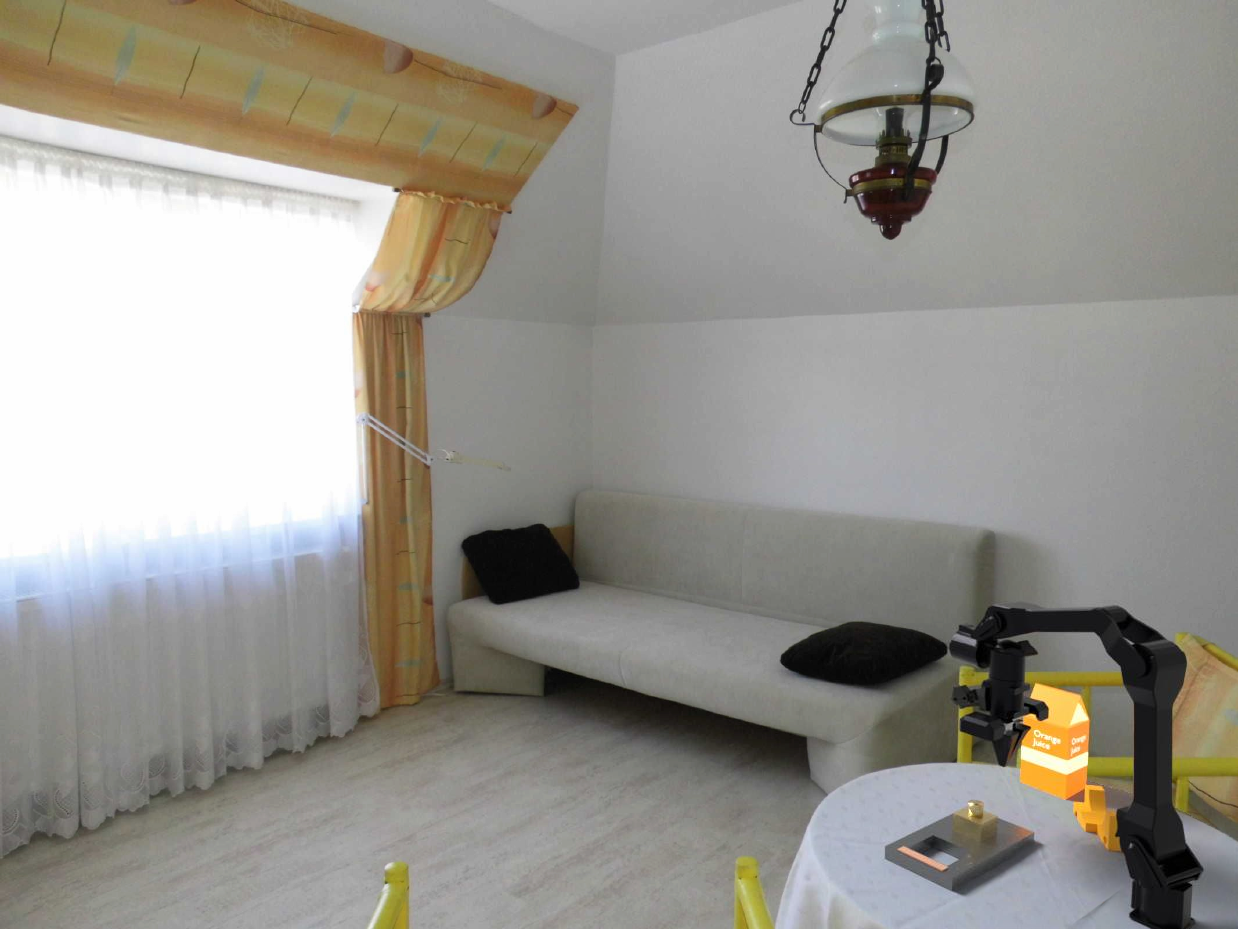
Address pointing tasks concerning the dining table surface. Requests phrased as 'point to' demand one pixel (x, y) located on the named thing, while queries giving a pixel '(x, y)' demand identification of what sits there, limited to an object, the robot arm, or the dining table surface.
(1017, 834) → the dark grey slab
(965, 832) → the gold block with knob
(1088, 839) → the dining table surface
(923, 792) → the dining table surface
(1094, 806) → the pipe clamp
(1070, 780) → the orange juice
